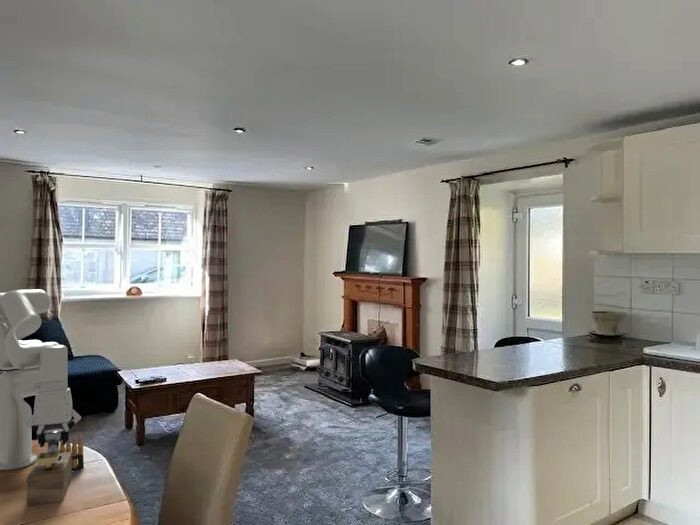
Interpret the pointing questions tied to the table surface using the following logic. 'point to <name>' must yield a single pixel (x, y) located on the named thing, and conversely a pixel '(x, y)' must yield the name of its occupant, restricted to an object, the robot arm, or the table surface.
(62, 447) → the ammunition clip
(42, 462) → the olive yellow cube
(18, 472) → the table surface
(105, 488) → the table surface
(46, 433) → the pin
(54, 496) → the block
